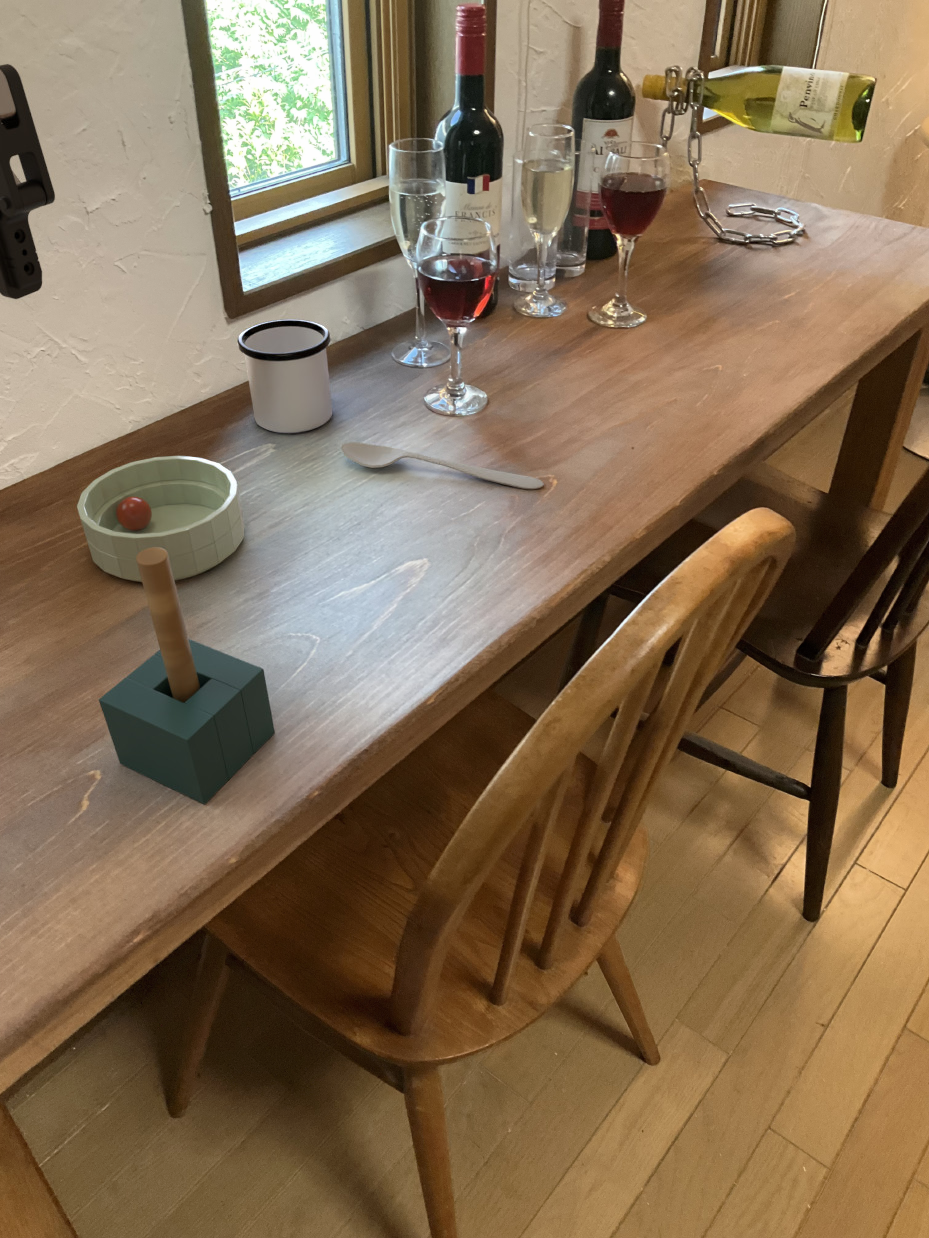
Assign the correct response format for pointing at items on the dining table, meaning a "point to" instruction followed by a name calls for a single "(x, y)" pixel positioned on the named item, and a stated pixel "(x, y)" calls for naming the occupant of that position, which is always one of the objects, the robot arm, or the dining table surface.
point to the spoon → (389, 455)
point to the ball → (133, 513)
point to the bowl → (164, 515)
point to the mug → (288, 374)
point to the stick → (168, 622)
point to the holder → (190, 722)
